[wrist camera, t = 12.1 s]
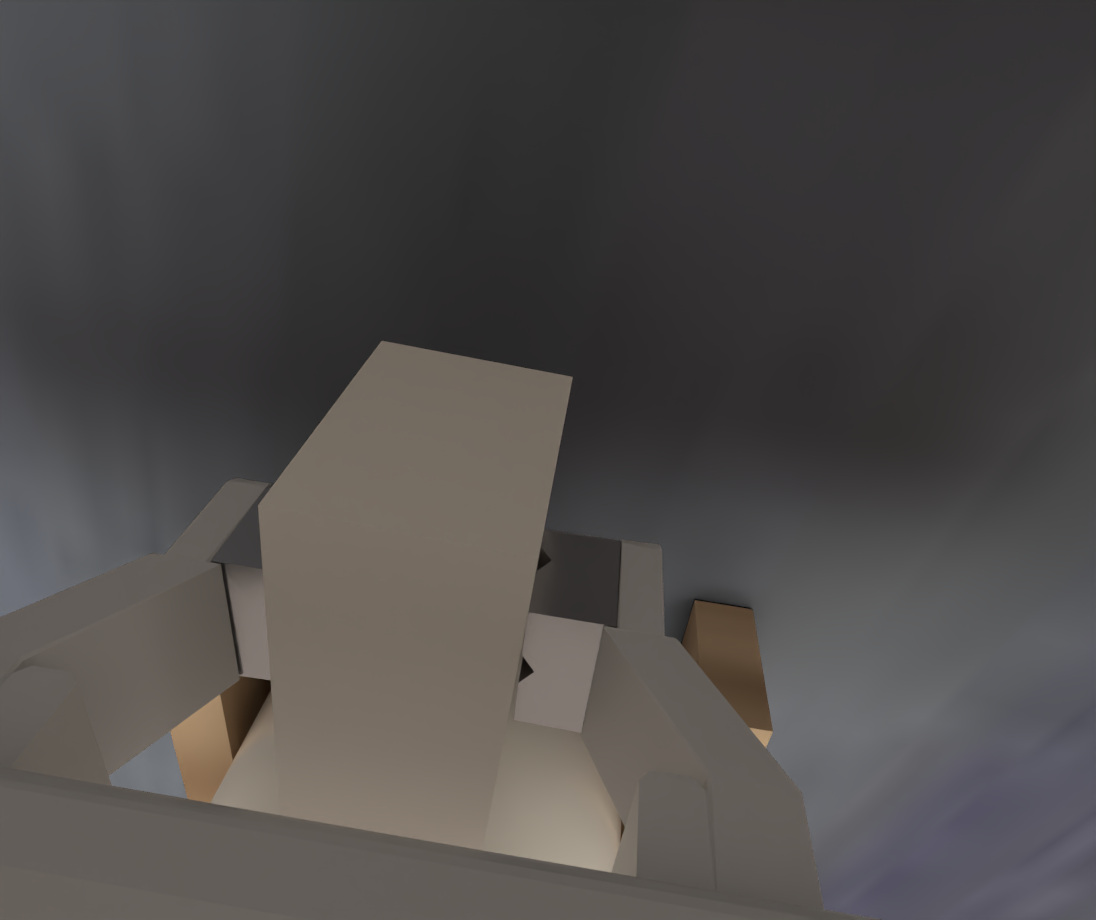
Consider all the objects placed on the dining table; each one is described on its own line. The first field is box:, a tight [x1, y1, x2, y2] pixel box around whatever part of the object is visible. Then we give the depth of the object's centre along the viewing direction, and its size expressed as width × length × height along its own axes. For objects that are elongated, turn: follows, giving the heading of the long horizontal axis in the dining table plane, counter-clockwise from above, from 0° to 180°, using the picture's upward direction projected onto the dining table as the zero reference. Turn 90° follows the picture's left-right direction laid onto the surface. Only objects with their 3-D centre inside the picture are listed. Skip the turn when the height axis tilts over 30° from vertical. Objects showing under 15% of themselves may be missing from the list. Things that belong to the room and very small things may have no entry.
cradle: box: [170, 600, 773, 842], centre depth 17 cm, size 9×11×3 cm
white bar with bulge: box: [211, 341, 621, 872], centre depth 14 cm, size 8×17×7 cm, turn 171°
